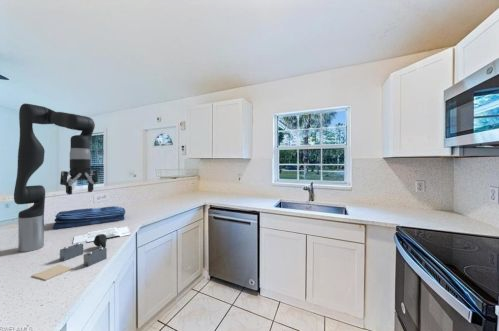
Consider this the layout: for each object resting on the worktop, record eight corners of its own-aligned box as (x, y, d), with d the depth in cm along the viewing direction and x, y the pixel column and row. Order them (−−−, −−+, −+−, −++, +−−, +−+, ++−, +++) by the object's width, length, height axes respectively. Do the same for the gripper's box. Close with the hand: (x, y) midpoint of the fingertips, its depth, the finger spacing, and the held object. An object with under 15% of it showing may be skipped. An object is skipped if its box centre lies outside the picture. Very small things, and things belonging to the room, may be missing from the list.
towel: (125, 221, 161) (125, 208, 161) (51, 231, 136) (51, 215, 135) (123, 214, 180) (123, 203, 180) (57, 222, 155) (57, 209, 155)
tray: (74, 236, 127) (74, 230, 127) (126, 227, 144) (126, 222, 144) (72, 247, 111) (72, 240, 111) (131, 235, 128) (131, 230, 128)
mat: (31, 276, 80) (31, 275, 80) (59, 266, 89) (59, 264, 89) (45, 281, 77) (45, 279, 77) (72, 269, 86) (72, 268, 86)
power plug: (99, 252, 101) (94, 233, 107) (96, 261, 104) (91, 242, 110) (112, 248, 105) (106, 230, 111) (109, 257, 108) (104, 239, 114)
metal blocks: (59, 260, 94) (59, 248, 94) (79, 253, 101) (79, 242, 101) (88, 267, 88) (88, 254, 88) (106, 259, 95) (106, 247, 95)
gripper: (91, 158, 102) (91, 190, 103) (56, 157, 89) (56, 194, 89) (101, 158, 100) (101, 191, 100) (67, 157, 86) (67, 195, 87)
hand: (80, 193), depth 95 cm, fingers open, 8 cm apart
